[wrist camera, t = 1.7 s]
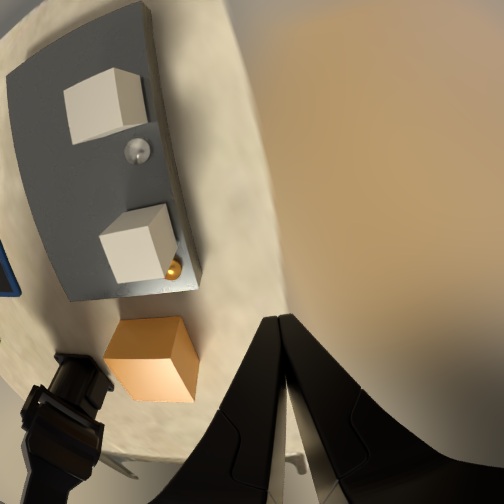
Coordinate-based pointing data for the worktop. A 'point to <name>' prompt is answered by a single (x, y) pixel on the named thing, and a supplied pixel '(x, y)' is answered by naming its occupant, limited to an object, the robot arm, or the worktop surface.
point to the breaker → (104, 105)
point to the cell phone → (7, 277)
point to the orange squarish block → (154, 359)
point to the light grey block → (140, 244)
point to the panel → (97, 157)
